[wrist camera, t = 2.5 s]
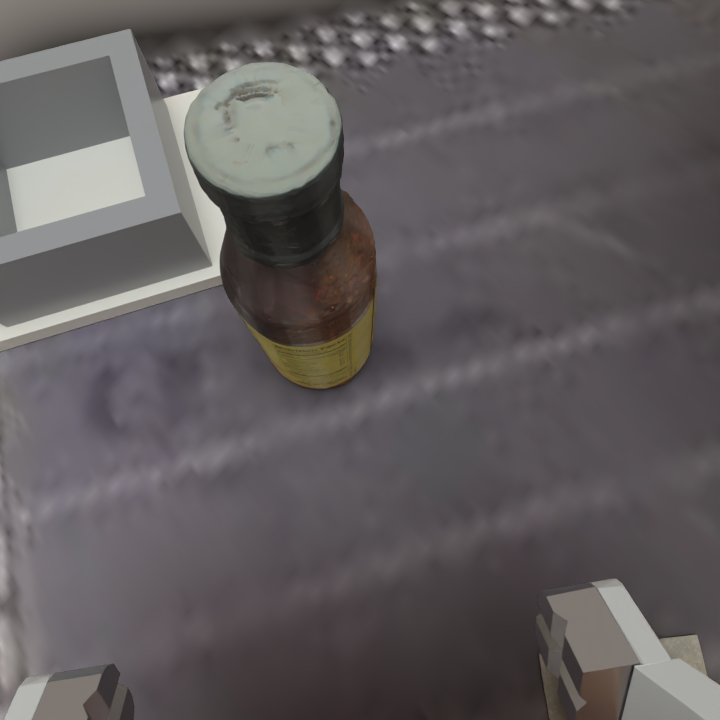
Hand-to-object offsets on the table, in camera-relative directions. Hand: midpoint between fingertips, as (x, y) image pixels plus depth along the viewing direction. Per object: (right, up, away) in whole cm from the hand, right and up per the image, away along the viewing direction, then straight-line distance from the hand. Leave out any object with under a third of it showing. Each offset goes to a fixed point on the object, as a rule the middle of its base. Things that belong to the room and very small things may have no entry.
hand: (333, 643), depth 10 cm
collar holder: (-17, +15, +25) cm, 33 cm away
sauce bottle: (-2, +6, +22) cm, 23 cm away
